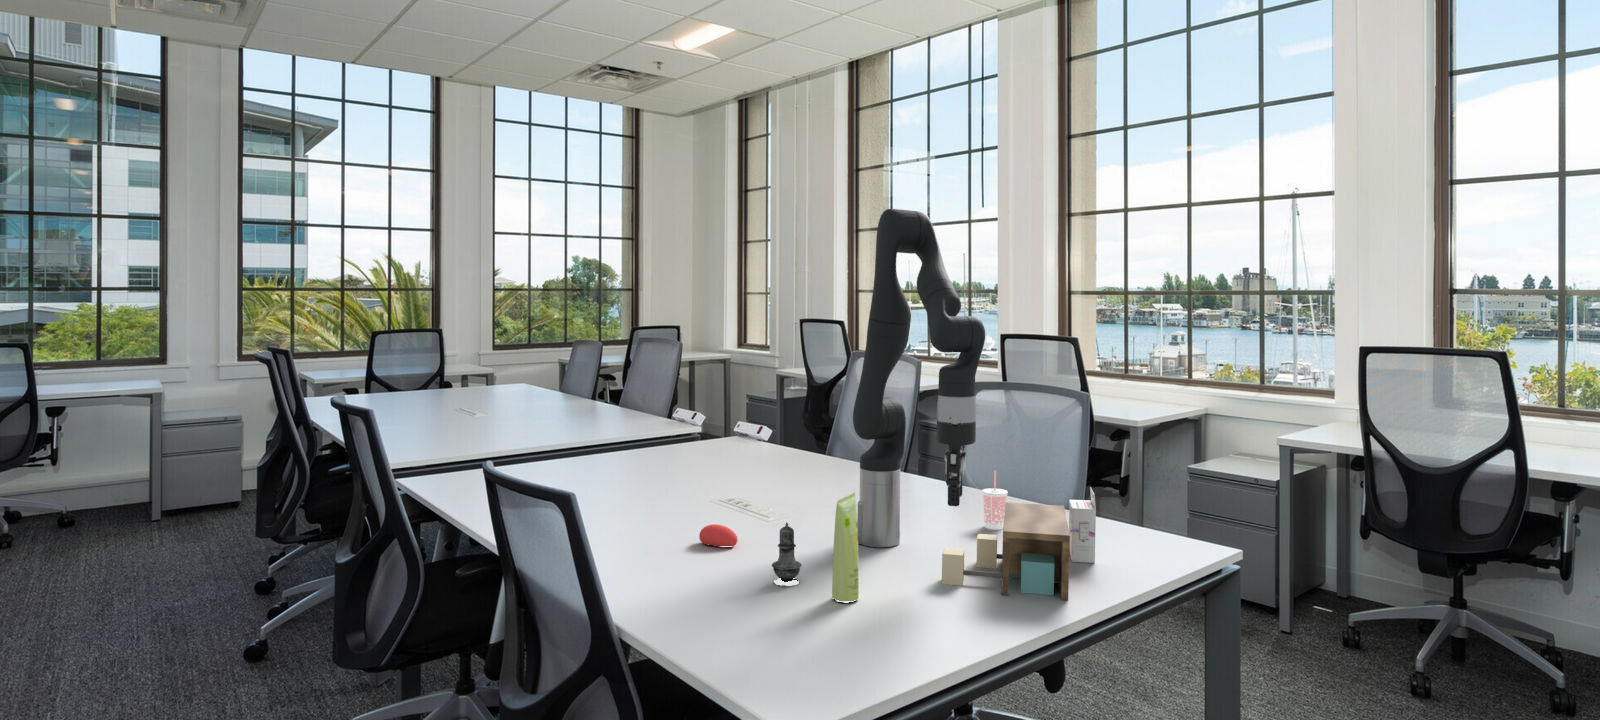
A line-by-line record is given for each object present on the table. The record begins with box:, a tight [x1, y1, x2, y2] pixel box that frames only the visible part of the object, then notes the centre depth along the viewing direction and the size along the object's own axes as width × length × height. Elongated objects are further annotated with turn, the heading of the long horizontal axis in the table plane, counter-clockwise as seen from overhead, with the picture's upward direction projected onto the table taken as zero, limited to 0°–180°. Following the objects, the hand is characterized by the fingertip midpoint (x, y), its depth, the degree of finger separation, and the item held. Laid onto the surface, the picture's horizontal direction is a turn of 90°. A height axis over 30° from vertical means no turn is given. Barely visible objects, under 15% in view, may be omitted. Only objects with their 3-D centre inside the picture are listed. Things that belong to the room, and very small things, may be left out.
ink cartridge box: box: [1068, 487, 1097, 564], centre depth 190 cm, size 9×5×15 cm, turn 168°
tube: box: [831, 491, 860, 601], centre depth 162 cm, size 6×5×20 cm
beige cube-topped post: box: [976, 533, 1002, 569], centre depth 183 cm, size 15×6×6 cm, turn 76°
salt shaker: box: [771, 522, 803, 582], centre depth 172 cm, size 6×6×12 cm
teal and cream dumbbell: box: [941, 547, 1055, 596], centre depth 171 cm, size 21×6×6 cm, turn 76°
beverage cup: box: [981, 469, 1009, 530], centre depth 215 cm, size 6×6×14 cm
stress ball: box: [698, 524, 739, 547], centre depth 198 cm, size 5×9×6 cm, turn 52°
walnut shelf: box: [1001, 501, 1070, 601], centre depth 175 cm, size 12×24×12 cm, turn 166°
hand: (955, 500), depth 172 cm, fingers open, 8 cm apart
